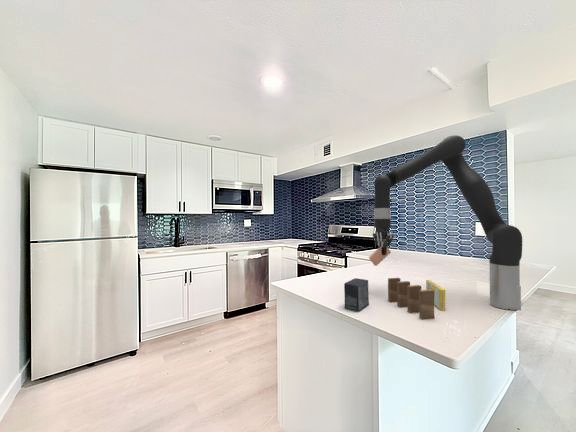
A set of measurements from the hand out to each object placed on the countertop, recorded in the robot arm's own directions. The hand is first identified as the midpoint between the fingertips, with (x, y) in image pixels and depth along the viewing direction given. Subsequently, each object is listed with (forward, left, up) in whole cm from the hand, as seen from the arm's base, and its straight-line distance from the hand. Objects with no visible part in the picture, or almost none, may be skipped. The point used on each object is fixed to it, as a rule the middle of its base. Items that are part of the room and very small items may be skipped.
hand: (382, 254), depth 115 cm
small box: (+4, +22, -19) cm, 29 cm away
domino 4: (-16, +14, -19) cm, 28 cm away
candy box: (-21, -1, -19) cm, 29 cm away
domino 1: (+4, +4, -3) cm, 6 cm away
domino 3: (-11, +10, -19) cm, 24 cm away
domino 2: (-7, +6, -19) cm, 21 cm away
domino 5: (-21, +18, -19) cm, 33 cm away
